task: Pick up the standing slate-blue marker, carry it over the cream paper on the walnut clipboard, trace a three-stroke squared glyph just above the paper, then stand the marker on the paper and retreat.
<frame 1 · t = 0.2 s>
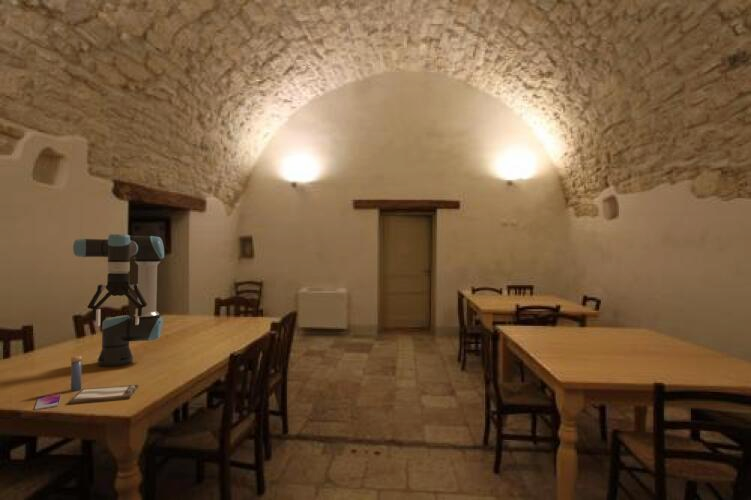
hand: (117, 325, 162), 27 cm above the table, fingers open, 13 cm apart
smartphone: (48, 403, 152), on the table
clipboard: (105, 395, 160), on the table
marker: (76, 389, 165), on the table
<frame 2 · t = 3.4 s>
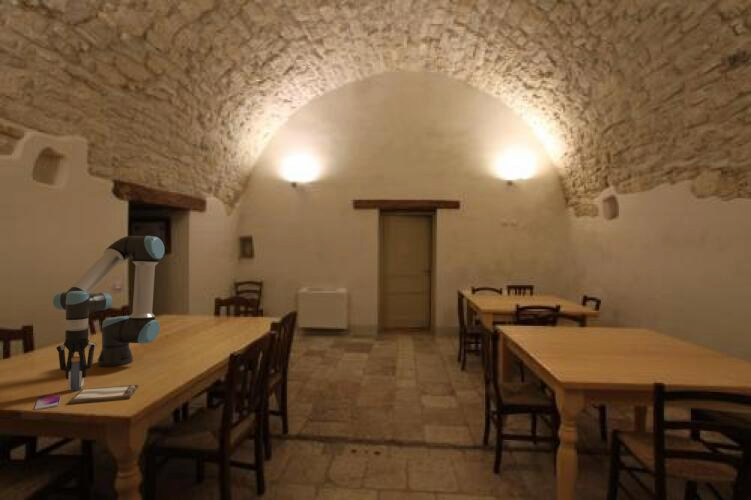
hand: (76, 386, 165), 2 cm above the table, fingers closed on marker, 3 cm apart
marker: (75, 389, 165), on the table, touching gripper
everything else where it was.
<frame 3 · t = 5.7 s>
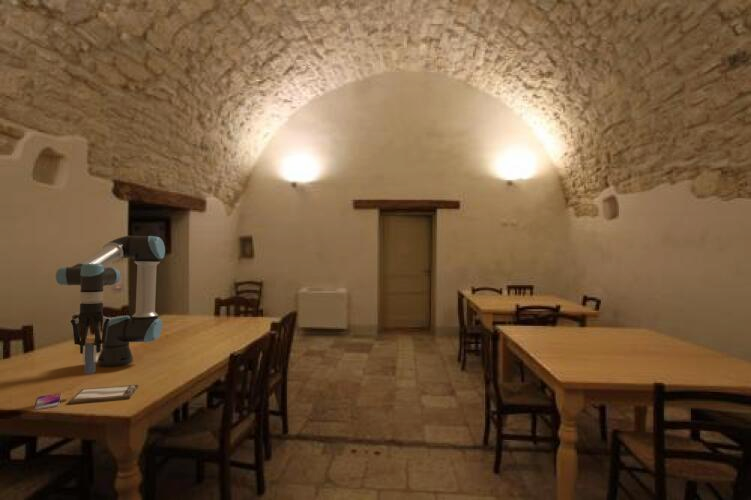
hand: (90, 361, 160), 13 cm above the table, fingers closed on marker, 3 cm apart
marker: (90, 372, 160), point 9 cm above the table, touching gripper
everything else where it was.
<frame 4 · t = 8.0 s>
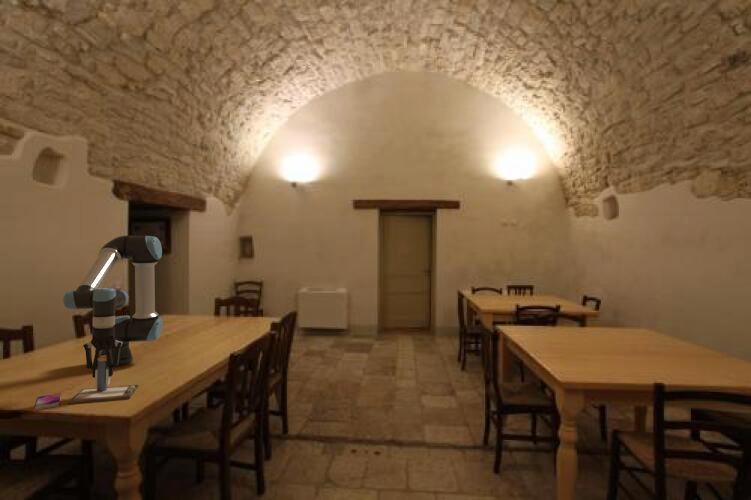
hand: (102, 384, 162), 3 cm above the table, fingers closed on marker, 3 cm apart
marker: (101, 390, 162), point 1 cm above the table, touching gripper
everything else where it was.
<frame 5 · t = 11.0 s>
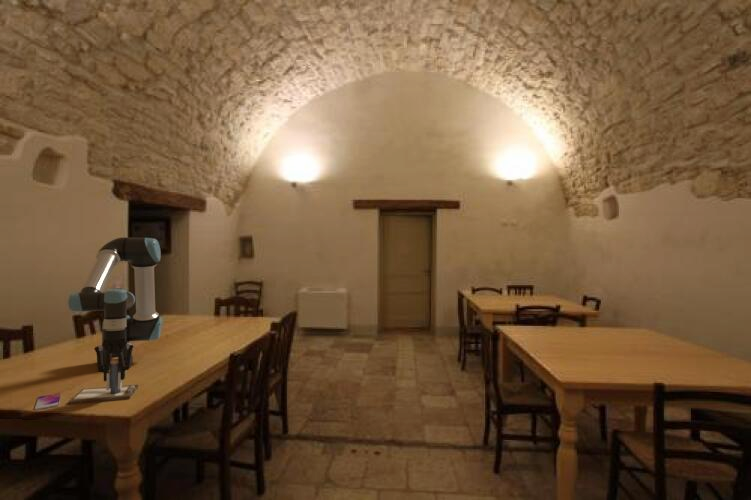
hand: (114, 388, 158), 3 cm above the table, fingers closed on marker, 3 cm apart
marker: (115, 391, 160), point 1 cm above the table, touching gripper
everything else where it was.
when the fingers open (3 cm above the table, at t = 12.8 s): marker stays where it is, resting on clipboard.
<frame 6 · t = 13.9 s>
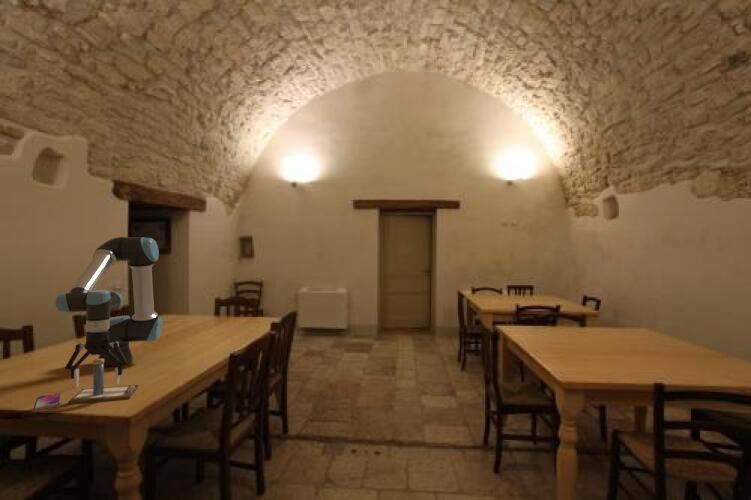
hand: (97, 385, 156), 5 cm above the table, fingers open, 13 cm apart
marker: (98, 394, 157), point 1 cm above the table, touching clipboard
everything else where it was.
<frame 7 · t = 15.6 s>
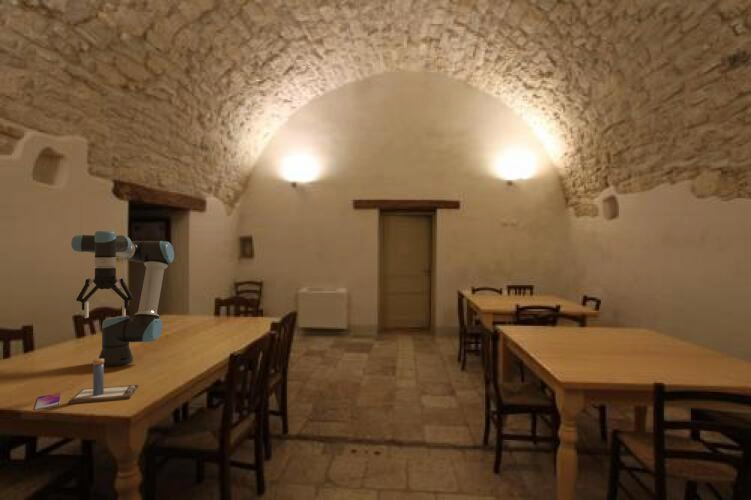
hand: (105, 316, 172), 29 cm above the table, fingers open, 13 cm apart
nothing on the table moved.
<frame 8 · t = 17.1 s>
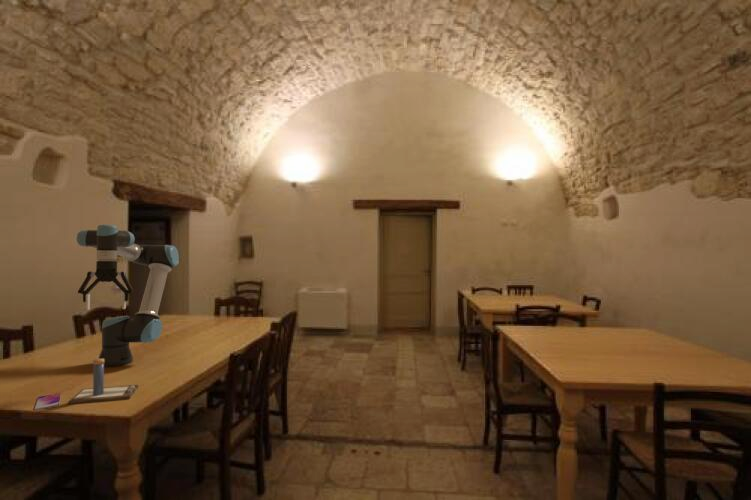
hand: (106, 309, 175), 32 cm above the table, fingers open, 13 cm apart
nothing on the table moved.
at the end: marker inside the target area on the clipboard (2.5 cm from its centre), point 1.2 cm above the clipboard's base; marker tilted 0°; the gripper is holding nothing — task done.
